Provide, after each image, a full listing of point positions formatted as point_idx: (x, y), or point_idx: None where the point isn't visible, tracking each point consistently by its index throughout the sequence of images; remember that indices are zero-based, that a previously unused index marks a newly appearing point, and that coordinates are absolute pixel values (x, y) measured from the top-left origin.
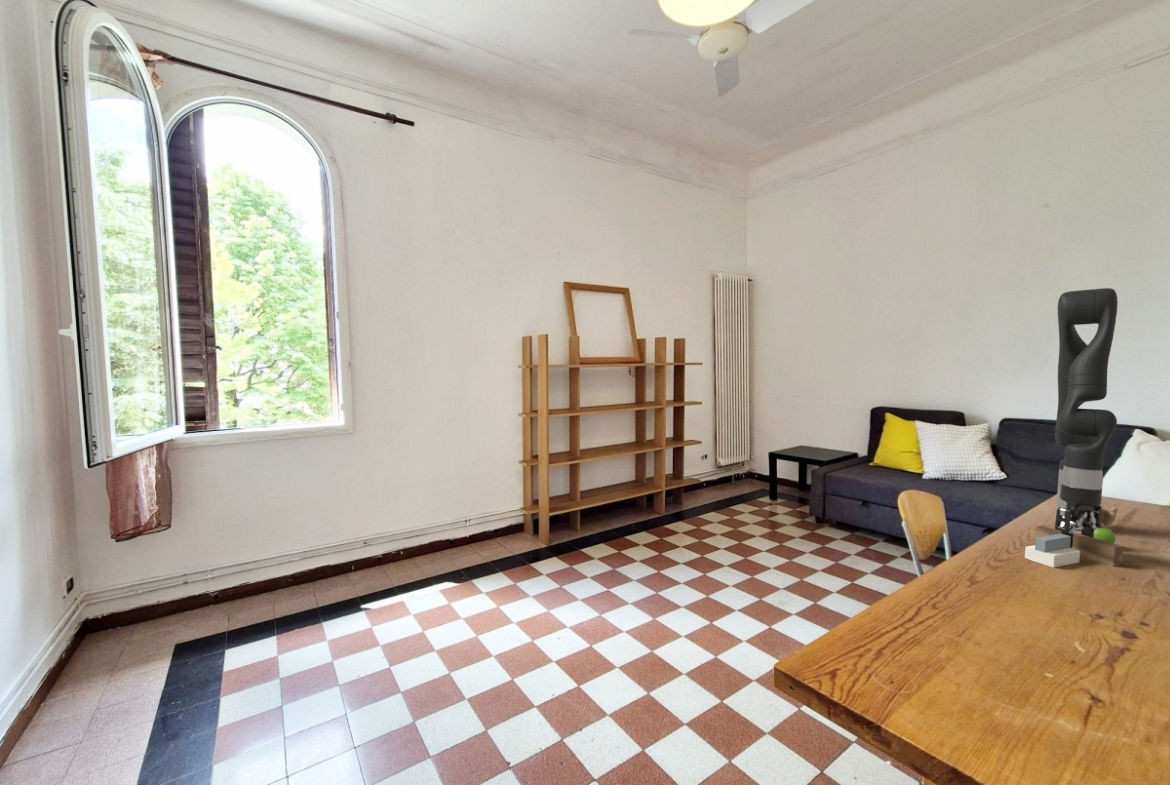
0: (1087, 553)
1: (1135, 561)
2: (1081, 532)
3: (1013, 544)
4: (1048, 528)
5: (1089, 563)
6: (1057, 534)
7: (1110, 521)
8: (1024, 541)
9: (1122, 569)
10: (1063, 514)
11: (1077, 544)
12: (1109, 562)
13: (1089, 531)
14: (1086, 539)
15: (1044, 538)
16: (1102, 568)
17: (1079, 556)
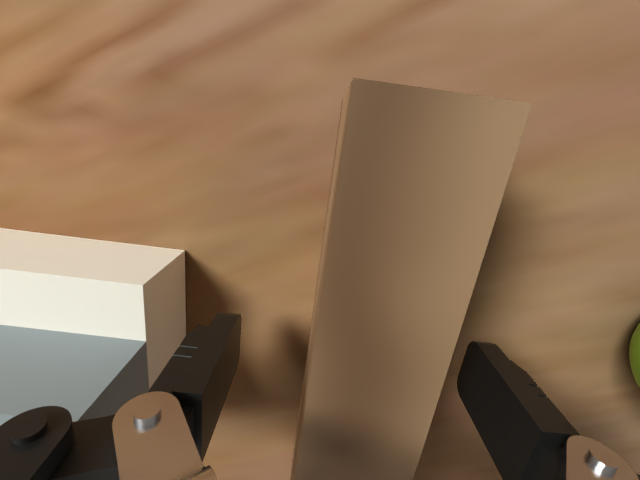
0: (302, 392)
1: (482, 469)
2: (515, 395)
3: (115, 34)
4: (373, 195)
5: (227, 397)
6: (4, 417)
7: None
8: (290, 37)
9: (287, 475)
10: None
11: (306, 378)
12: (293, 453)
13: (512, 471)
14: (307, 467)
15: None
16: (210, 440)
17: None
